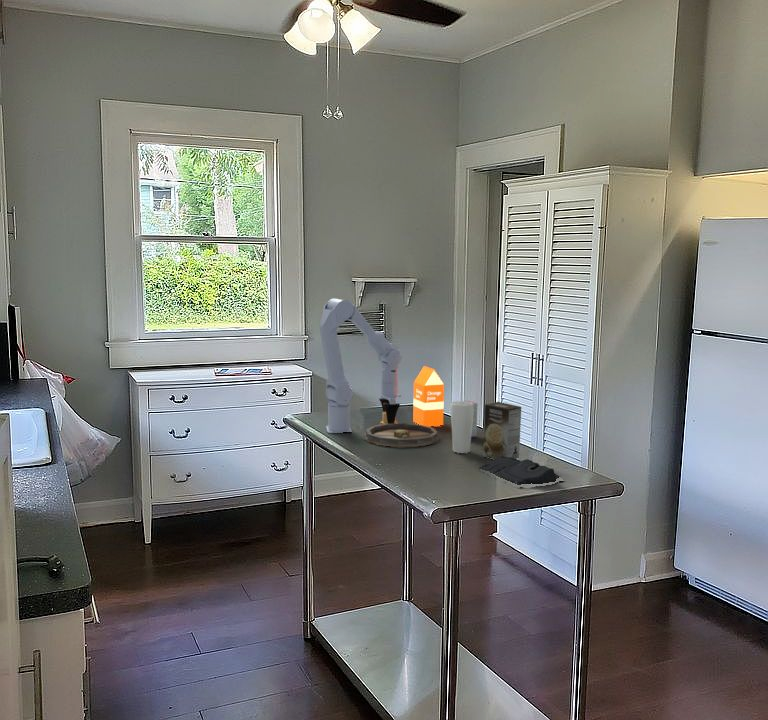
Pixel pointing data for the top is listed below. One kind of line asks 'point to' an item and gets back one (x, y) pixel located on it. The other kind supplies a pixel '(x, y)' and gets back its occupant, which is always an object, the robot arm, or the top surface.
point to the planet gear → (386, 419)
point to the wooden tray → (401, 435)
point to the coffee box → (502, 430)
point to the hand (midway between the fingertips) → (389, 420)
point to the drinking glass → (462, 425)
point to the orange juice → (428, 398)
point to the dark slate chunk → (520, 471)
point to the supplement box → (474, 421)
